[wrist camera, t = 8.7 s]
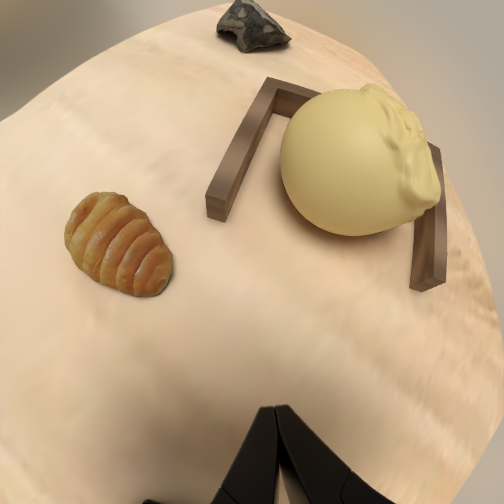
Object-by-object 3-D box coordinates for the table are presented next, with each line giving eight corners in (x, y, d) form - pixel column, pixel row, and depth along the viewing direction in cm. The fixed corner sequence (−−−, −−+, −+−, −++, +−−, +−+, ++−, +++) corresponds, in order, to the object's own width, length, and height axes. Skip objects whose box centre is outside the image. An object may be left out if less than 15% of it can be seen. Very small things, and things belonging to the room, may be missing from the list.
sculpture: (403, 250, 24) (482, 193, 14) (278, 252, 22) (320, 172, 12) (375, 150, 27) (422, 79, 17) (266, 140, 26) (286, 47, 16)
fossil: (307, 45, 33) (297, -1, 24) (262, 77, 35) (241, 34, 26) (262, 18, 35) (245, -22, 26) (220, 46, 37) (195, 9, 28)
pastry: (195, 252, 22) (189, 232, 18) (143, 322, 20) (127, 316, 16) (114, 195, 23) (99, 171, 19) (67, 254, 21) (44, 238, 17)
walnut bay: (421, 292, 22) (445, 282, 19) (207, 216, 23) (205, 194, 19) (424, 165, 28) (439, 148, 24) (263, 100, 28) (267, 76, 25)
